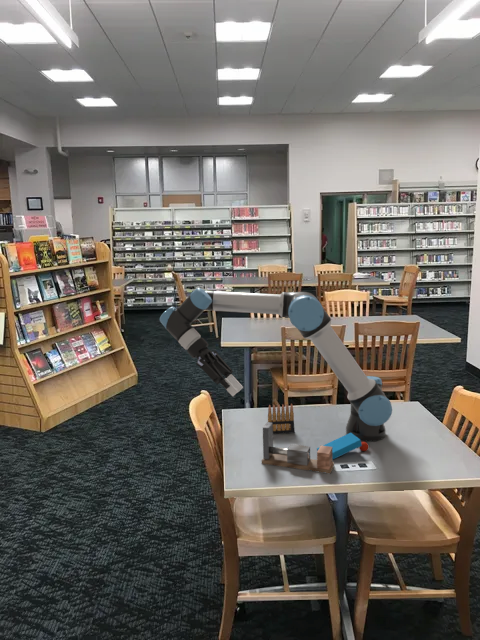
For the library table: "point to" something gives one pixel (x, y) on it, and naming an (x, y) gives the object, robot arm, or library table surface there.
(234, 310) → the robot arm
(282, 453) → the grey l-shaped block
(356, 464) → the library table surface
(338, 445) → the blue block
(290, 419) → the ammunition clip
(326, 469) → the wooden bar with block
